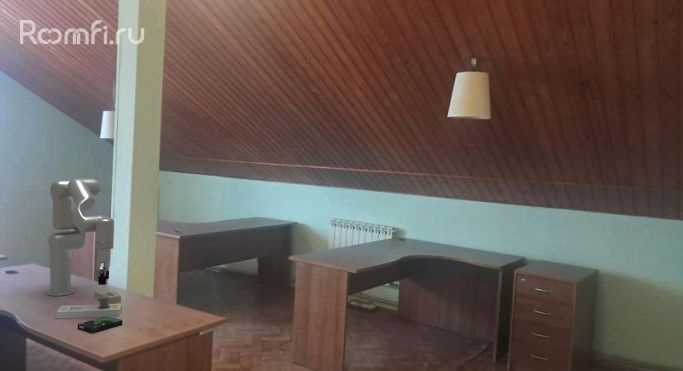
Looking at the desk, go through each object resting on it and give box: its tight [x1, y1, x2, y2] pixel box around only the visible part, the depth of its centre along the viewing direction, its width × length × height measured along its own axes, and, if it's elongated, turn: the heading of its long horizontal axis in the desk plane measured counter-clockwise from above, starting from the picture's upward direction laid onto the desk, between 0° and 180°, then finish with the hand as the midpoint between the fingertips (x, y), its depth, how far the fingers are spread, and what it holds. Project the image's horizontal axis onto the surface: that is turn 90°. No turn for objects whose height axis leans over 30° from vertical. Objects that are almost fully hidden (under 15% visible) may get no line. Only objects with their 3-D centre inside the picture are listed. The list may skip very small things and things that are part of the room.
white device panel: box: [55, 303, 123, 320], centre depth 261 cm, size 10×26×3 cm, turn 105°
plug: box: [99, 294, 109, 309], centre depth 262 cm, size 4×4×8 cm
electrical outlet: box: [94, 289, 122, 304], centre depth 285 cm, size 7×4×18 cm
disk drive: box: [77, 316, 123, 335], centre depth 244 cm, size 10×3×15 cm
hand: (103, 281), depth 262 cm, fingers open, 9 cm apart
